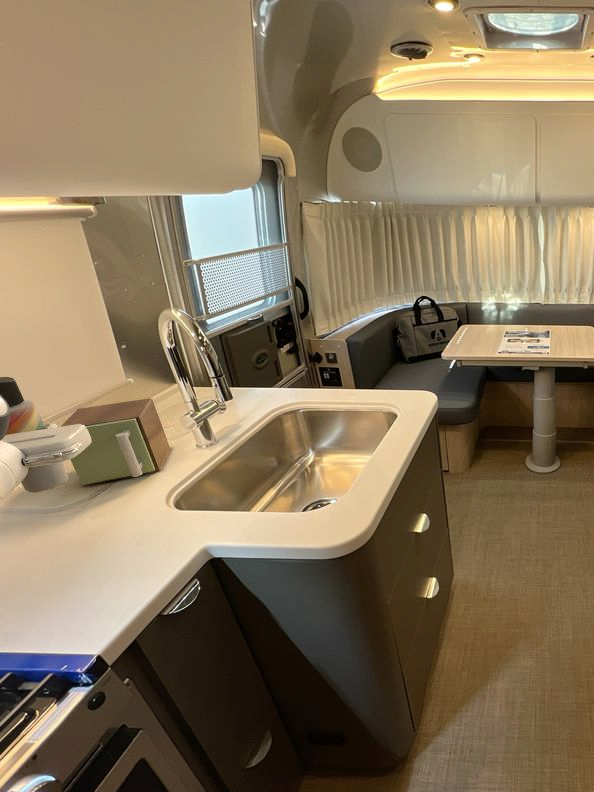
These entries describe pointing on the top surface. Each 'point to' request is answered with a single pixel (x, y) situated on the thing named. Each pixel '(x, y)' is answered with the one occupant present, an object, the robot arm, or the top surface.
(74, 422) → the cabinet
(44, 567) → the top surface
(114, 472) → the door
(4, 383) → the lotion bottle
